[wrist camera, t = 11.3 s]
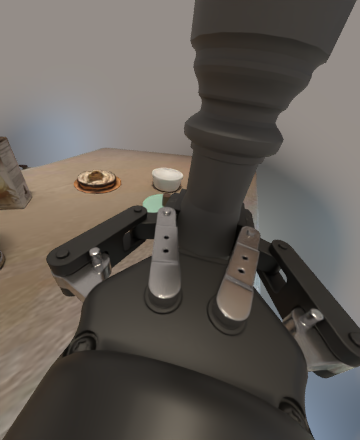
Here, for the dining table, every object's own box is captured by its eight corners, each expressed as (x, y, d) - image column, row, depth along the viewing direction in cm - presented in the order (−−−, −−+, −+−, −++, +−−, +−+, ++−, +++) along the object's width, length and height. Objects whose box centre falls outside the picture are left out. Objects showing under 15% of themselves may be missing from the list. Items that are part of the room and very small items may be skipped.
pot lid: (133, 206, 52) (132, 192, 49) (164, 192, 61) (165, 180, 58) (166, 228, 46) (167, 214, 43) (196, 209, 55) (198, 197, 52)
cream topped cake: (114, 195, 55) (112, 183, 53) (65, 190, 54) (61, 178, 51) (125, 176, 67) (124, 166, 64) (85, 172, 65) (82, 161, 63)
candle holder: (157, 280, 22) (189, -45, 8) (203, 282, 23) (312, -11, 8) (154, 334, 18) (229, -287, 3) (212, 333, 18) (516, -151, 4)
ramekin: (181, 182, 70) (183, 169, 66) (180, 195, 61) (182, 181, 58) (154, 178, 69) (155, 165, 66) (148, 191, 60) (149, 177, 57)
